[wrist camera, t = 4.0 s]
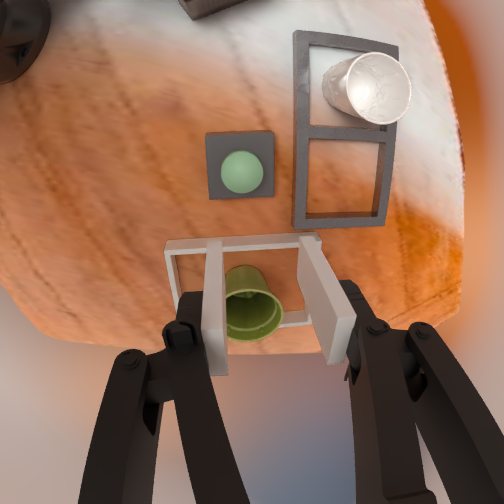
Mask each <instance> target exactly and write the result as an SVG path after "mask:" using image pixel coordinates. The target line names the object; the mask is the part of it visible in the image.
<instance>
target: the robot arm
mask: <svg viewBox="0 0 504 504" xmlns="http://www.w3.org/2000/svg"><path fill="white" fill-rule="evenodd" d="M49 25H50V8H49V4H48V2H47V0H0V84H2V83H7V82H10V81H12V80H14V79H16V78H17V77H19V76H20V75H21V74H22V73H24V72H25V71H26V70H27V69H28V67H29V66H30V65H31V64H32V63H33V61H34V60H35V58H36V57H37V55H38V54H39V52H40V50H41V48H42V46H43V44H44V42H45V39H46V37H47V34H48V30H49ZM297 281H298V283H299V286H300V289H301V292H302V295H303V297H304V300H305V303H306V306H307V309H308V311H309V314H310V317H311V320H312V323H313V326H314V329H315V331H316V334H317V337H318V340H319V343H320V346H321V349H322V352H323V355H324V358H325V361H326V363H327V365H332V364H338V363H344V360H345V357H346V354H347V357H348V359H349V365H348V368H347V371H346V374H345V378H344V381H347V378H349V388H350V398H351V409H352V421H353V434H354V449H355V450H354V451H355V473H356V504H437V500H436V496H435V495H434V493H433V492H432V491H430V490H428V489H427V488H426V485H425V479H424V472H423V465H422V459H421V452H420V447H419V441H418V436H417V430H416V425H417V427H418V429H419V431H420V433H421V435H422V438H423V440H424V442H425V444H426V446H427V448H428V451H429V452H430V455H431V457H432V460H433V462H434V464H435V466H436V469H437V470H438V473H439V475H440V478H441V480H442V482H443V485H444V487H445V490H446V492H447V495H448V497H449V500H450V502H451V504H504V435H503V434H502V432H501V430H500V428H499V427H498V425H497V423H496V422H495V419H494V418H493V416H492V414H491V413H490V411H489V409H488V408H487V406H486V405H485V403H484V401H483V399H482V398H481V396H480V395H479V393H478V392H477V390H476V389H475V387H474V385H473V384H472V382H471V381H470V379H469V377H468V376H467V374H466V373H465V371H464V370H463V368H462V367H461V365H460V364H459V363H458V361H457V360H456V358H455V357H454V355H453V354H452V352H451V351H450V350H449V348H448V347H447V345H446V344H445V343H444V341H443V340H442V338H441V337H440V336H439V334H438V333H437V331H436V330H435V329H434V328H433V327H432V326H431V325H429V324H427V323H424V322H415V323H412V324H411V325H410V327H409V329H408V330H397V329H391V328H390V326H389V324H387V323H386V322H385V321H383V320H381V319H378V318H376V316H375V314H374V313H373V311H372V309H371V308H370V306H369V304H368V302H367V301H366V299H365V297H364V296H363V294H362V293H361V291H360V289H359V287H358V286H357V285H356V284H355V283H354V282H352V281H351V280H339V281H338V280H337V278H336V276H335V274H334V272H333V270H332V269H331V267H330V265H329V263H328V261H327V260H326V258H325V256H324V254H323V252H322V251H321V249H320V247H319V245H318V244H317V242H316V240H315V238H314V237H313V236H299V251H298V266H297ZM162 336H163V340H164V343H165V346H166V348H165V349H164V350H162V351H160V352H157V353H154V354H150V355H145V353H143V352H142V351H141V350H137V349H129V350H126V351H124V352H121V353H120V354H119V355H118V356H117V357H116V359H115V361H114V364H113V367H112V370H111V373H110V376H109V379H108V383H107V386H106V389H105V392H104V396H103V399H102V403H101V406H100V410H99V413H98V417H97V421H96V425H95V428H94V432H93V436H92V440H91V444H90V448H89V452H88V456H87V460H86V465H85V470H84V474H83V479H82V484H81V489H80V495H79V500H78V504H152V495H153V484H154V475H155V465H156V457H157V448H158V440H159V433H160V425H161V418H162V411H163V404H164V402H167V401H170V400H174V403H175V409H176V414H177V420H178V425H179V430H180V435H181V440H182V445H183V450H184V455H185V459H186V464H187V468H188V472H189V477H190V481H191V485H192V489H193V492H194V496H195V500H196V504H250V502H249V499H248V496H247V493H246V490H245V488H244V485H243V482H242V479H241V476H240V473H239V470H238V468H237V464H236V461H235V458H234V455H233V452H232V449H231V446H230V443H229V440H228V437H227V433H226V430H225V427H224V423H223V420H222V417H221V413H220V410H219V407H218V403H217V400H216V396H215V393H214V389H213V385H212V382H211V378H210V376H226V375H228V354H227V326H226V291H225V273H224V261H223V248H222V241H208V242H207V253H206V265H205V277H204V290H203V291H195V292H184V293H183V295H182V296H181V297H180V298H179V302H178V309H177V315H176V320H174V321H171V322H170V323H168V324H167V325H166V326H165V327H164V329H163V331H162ZM415 423H416V425H415Z"/></svg>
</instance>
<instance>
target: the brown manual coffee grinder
mask: <svg viewBox="0 0 504 504" xmlns="http://www.w3.org/2000/svg"><path fill="white" fill-rule="evenodd" d="M178 1H179V3H180V5H181V6H182V7H183V9H184V10H185V11H186V13H187V14H188V15H189V17H190V18H191V19H192V20H196V19H199V18H203V17H206V16H208V15H211V14H213V13H216V12H218V11H221V10H224V9H226V8H229V7H231V6H234V5H236V4H239V3H242V2H244V1H247V0H178Z"/></svg>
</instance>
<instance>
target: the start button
mask: <svg viewBox="0 0 504 504" xmlns="http://www.w3.org/2000/svg"><path fill="white" fill-rule="evenodd" d="M221 178H222V181H223V183H224V185H225V186H226V187H227V188H228V189H229V190H231V191H233V192H236V193H248V192H251V191H253V190H254V189H256V188H257V187H258V186H259V184H260V183H261V181H262V178H263V168H262V165H261V163H260V161H259V159H258V158H257V156H256V155H255V154H254V153H252V152H251V151H248V150H244V149H239V150H235V151H232V152H230V153H229V154H228V155H227V156H226V157H225V158H224V160H223V162H222V166H221Z"/></svg>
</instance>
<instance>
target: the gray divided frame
mask: <svg viewBox="0 0 504 504" xmlns="http://www.w3.org/2000/svg"><path fill="white" fill-rule="evenodd" d="M309 45H318V46H327V47H336V48H343V49H350V50H356V51H362V52H368V53H370V52H380V53H384V54H387V55H389V56H391V57H393V58H394V59H396V60H397V61H398V62H399V51H398V46H395V45H391V44H386V43H382V42H377V41H372V40H367V39H362V38H357V37H351V36H344V35H338V34H330V33H322V32H313V31H302V30H296V31H295V32H293V76H294V132H293V186H292V217H291V224H292V226H293V228H294V230H299V229H321V228H344V227H371V226H384V225H385V220H386V213H387V207H388V201H389V194H390V186H391V179H392V170H393V162H394V152H395V141H396V128H397V121H395V122H393V123H390V124H381V125H380V130H378V129H368V128H356V127H342V126H323V125H309ZM309 138H320V139H344V140H361V141H374V142H379V152H378V163H377V173H376V182H375V190H374V198H373V206H372V212H334V213H306V199H307V177H308V148H309Z"/></svg>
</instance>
